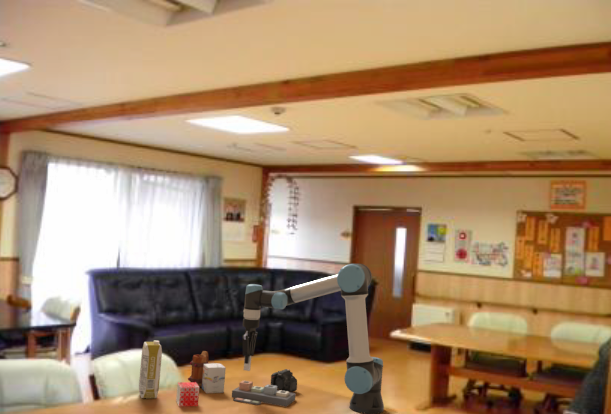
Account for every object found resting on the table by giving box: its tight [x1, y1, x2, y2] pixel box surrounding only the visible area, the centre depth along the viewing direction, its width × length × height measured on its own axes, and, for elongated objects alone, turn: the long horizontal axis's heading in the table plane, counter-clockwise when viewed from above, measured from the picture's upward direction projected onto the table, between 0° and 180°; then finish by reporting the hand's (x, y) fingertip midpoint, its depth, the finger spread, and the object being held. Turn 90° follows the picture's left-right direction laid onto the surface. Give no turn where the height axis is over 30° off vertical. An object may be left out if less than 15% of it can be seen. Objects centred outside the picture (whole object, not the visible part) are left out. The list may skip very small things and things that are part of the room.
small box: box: [175, 381, 200, 407], centre depth 256 cm, size 8×8×8 cm
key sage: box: [251, 385, 264, 393], centre depth 273 cm, size 5×5×4 cm
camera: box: [270, 368, 298, 393], centre depth 290 cm, size 13×10×10 cm
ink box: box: [201, 362, 226, 394], centre depth 279 cm, size 9×8×12 cm
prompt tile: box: [233, 398, 262, 406], centre depth 265 cm, size 12×3×1 cm, turn 72°
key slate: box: [263, 384, 278, 395], centre depth 271 cm, size 5×5×4 cm
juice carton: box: [138, 340, 163, 399], centre depth 262 cm, size 9×8×24 cm
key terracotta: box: [238, 380, 254, 391], centre depth 275 cm, size 5×5×4 cm
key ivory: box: [276, 389, 289, 397], centre depth 269 cm, size 5×5×4 cm
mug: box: [187, 350, 209, 388], centre depth 288 cm, size 15×8×15 cm, turn 168°
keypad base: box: [231, 386, 296, 408], centre depth 272 cm, size 26×12×3 cm, turn 72°
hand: (246, 370), depth 275 cm, fingers closed
